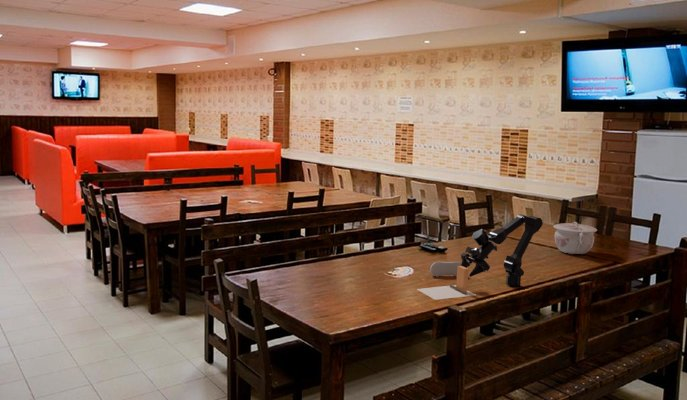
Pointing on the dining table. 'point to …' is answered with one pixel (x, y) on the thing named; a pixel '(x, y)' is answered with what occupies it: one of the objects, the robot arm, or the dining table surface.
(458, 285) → the orange block
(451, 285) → the long brown bar
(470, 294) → the mat
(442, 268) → the grey rounded panel
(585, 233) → the chamber pot
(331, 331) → the dining table surface
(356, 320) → the dining table surface
